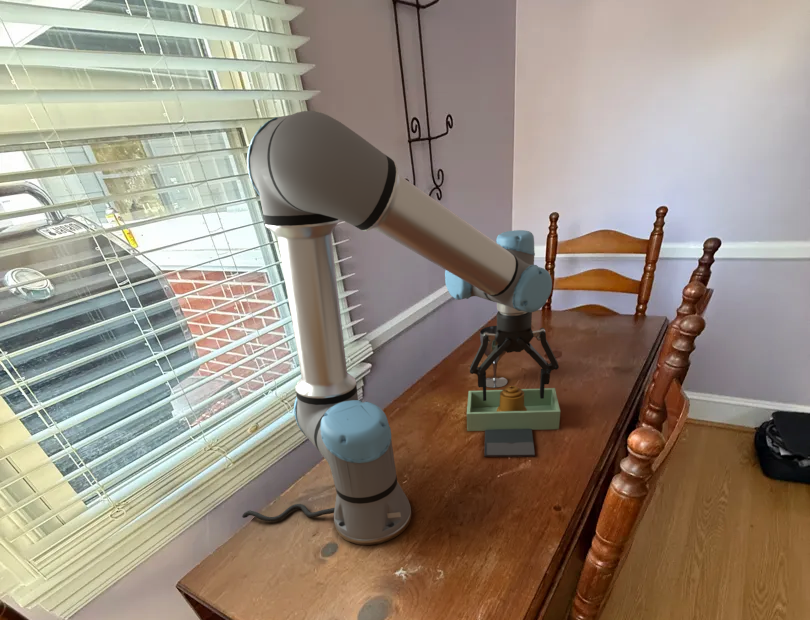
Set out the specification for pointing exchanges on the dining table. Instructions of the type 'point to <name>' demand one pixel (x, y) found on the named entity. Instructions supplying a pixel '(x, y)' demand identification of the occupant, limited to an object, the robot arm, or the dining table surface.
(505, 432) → the slate tile
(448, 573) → the dining table surface
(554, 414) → the tote
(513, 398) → the ornamental finial
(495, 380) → the metal goblet
